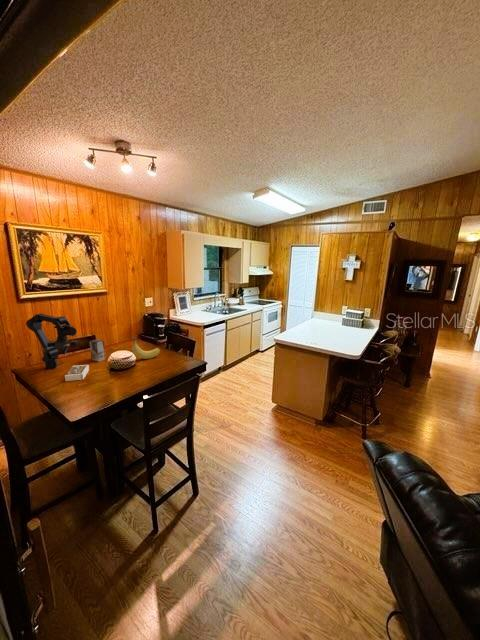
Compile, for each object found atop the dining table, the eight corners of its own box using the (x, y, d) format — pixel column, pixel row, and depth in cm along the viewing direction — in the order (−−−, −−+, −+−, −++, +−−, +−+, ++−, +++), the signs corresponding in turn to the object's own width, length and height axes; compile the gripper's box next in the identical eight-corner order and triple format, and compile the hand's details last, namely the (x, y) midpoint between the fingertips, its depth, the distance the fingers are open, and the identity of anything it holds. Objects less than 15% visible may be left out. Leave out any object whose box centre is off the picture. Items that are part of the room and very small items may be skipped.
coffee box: (105, 359, 219) (103, 340, 215) (98, 361, 213) (96, 342, 209) (98, 357, 222) (96, 338, 219) (91, 359, 217) (89, 340, 213)
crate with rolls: (68, 379, 182) (67, 372, 181) (73, 372, 193) (72, 365, 192) (79, 378, 184) (78, 371, 183) (83, 371, 195) (83, 365, 194)
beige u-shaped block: (65, 381, 179) (64, 375, 178) (73, 371, 195) (72, 365, 194) (83, 379, 182) (82, 374, 181) (89, 369, 198) (88, 364, 197)
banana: (158, 354, 232) (157, 332, 227) (161, 356, 227) (160, 334, 223) (132, 360, 218) (130, 336, 214) (134, 362, 214) (132, 338, 209)
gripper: (42, 338, 180) (44, 359, 184) (72, 337, 185) (75, 358, 189) (48, 333, 191) (51, 353, 195) (78, 332, 196) (80, 352, 199)
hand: (64, 354), depth 194 cm, fingers closed
